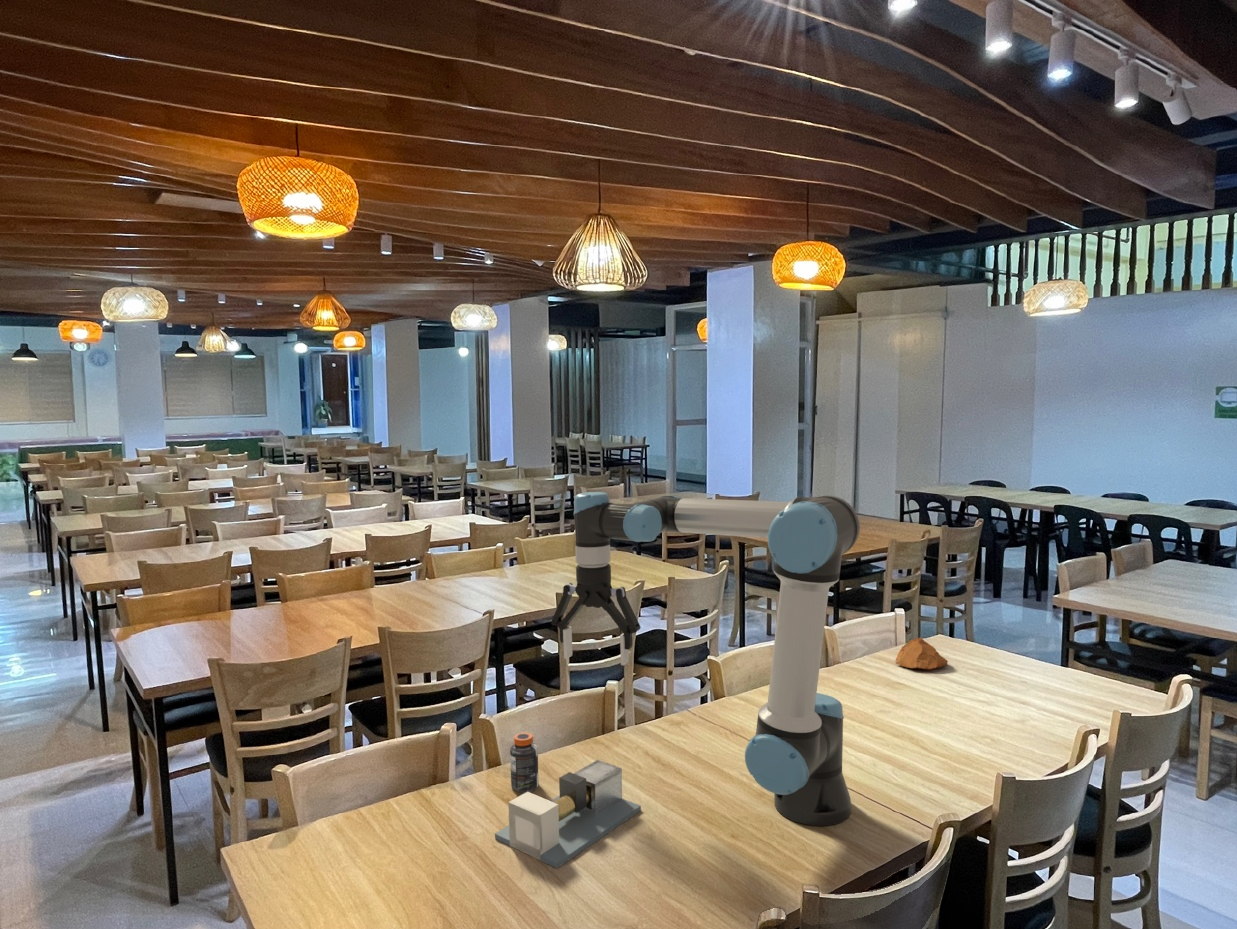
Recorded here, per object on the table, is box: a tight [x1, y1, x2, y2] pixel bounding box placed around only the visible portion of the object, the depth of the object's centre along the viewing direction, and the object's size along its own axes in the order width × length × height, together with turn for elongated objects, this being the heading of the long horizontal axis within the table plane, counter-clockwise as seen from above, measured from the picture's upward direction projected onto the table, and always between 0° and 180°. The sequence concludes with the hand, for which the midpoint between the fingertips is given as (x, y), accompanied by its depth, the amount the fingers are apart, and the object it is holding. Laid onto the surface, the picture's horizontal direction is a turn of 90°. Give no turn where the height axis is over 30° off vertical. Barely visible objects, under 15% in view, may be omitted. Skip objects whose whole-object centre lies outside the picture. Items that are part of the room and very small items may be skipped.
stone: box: [895, 637, 949, 670], centre depth 247 cm, size 15×15×10 cm
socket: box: [508, 791, 559, 862], centre depth 150 cm, size 8×5×8 cm, turn 52°
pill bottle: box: [509, 732, 540, 793], centre depth 173 cm, size 6×6×11 cm
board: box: [494, 795, 642, 869], centre depth 158 cm, size 16×25×1 cm, turn 142°
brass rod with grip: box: [554, 772, 592, 821], centre depth 160 cm, size 4×15×7 cm, turn 142°
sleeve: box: [573, 759, 623, 816], centre depth 164 cm, size 6×8×6 cm
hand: (596, 660), depth 175 cm, fingers open, 13 cm apart
